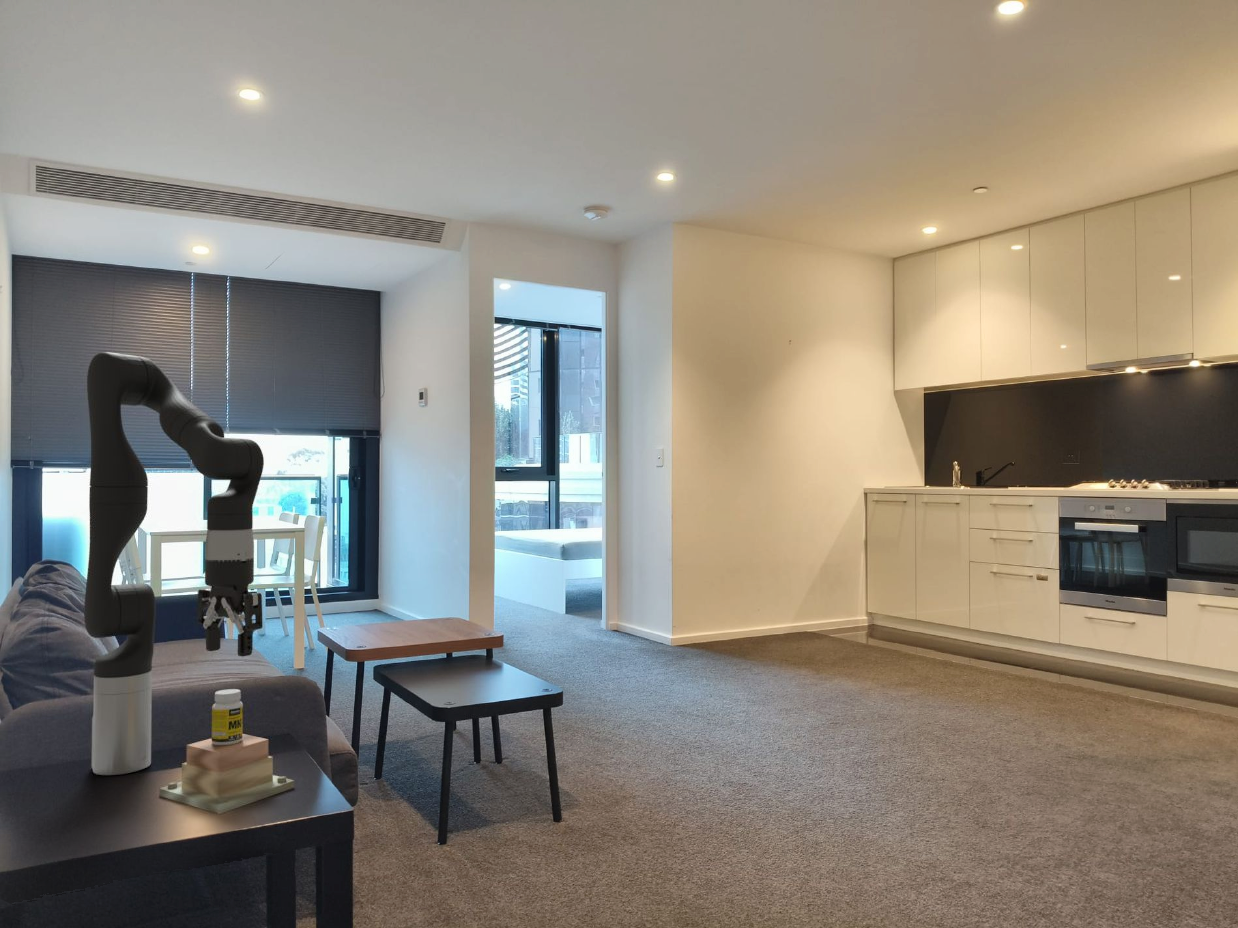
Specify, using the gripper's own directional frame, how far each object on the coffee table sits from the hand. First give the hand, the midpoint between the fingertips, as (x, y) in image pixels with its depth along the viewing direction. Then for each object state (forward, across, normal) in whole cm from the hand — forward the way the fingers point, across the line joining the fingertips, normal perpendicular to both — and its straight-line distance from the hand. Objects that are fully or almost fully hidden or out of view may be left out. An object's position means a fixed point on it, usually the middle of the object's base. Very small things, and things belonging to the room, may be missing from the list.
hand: (228, 652), depth 147 cm
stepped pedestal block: (+23, 0, 0) cm, 23 cm away
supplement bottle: (+15, 0, 0) cm, 15 cm away
